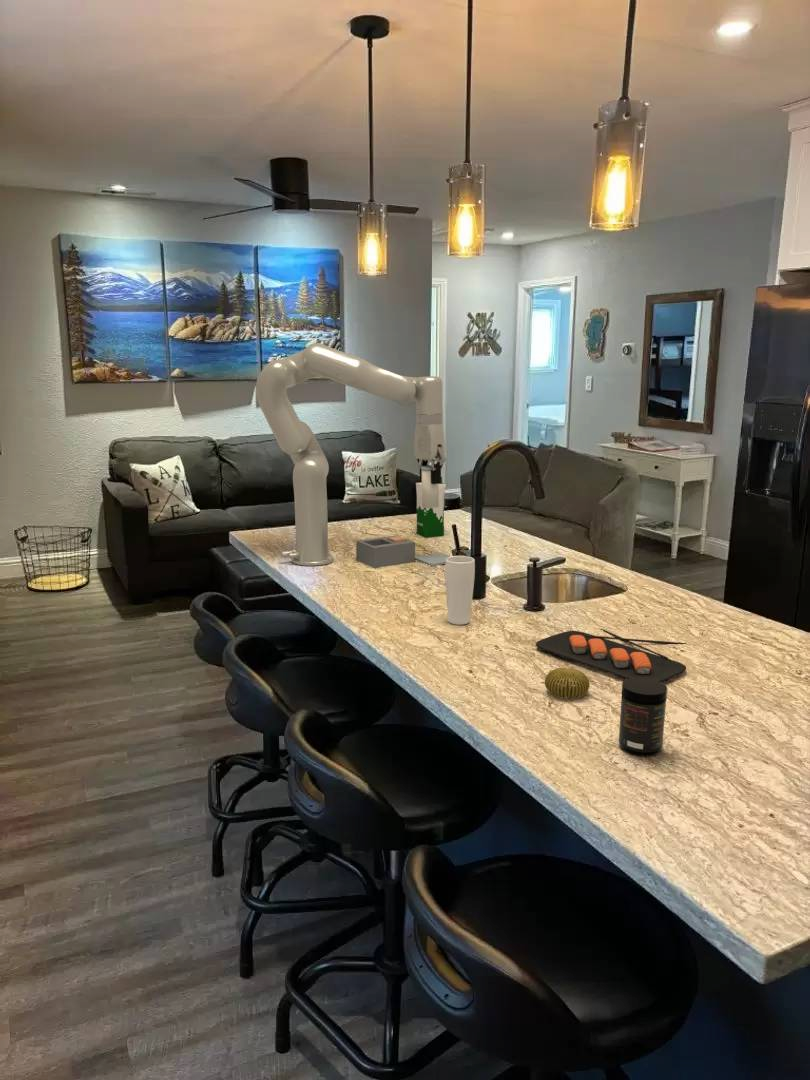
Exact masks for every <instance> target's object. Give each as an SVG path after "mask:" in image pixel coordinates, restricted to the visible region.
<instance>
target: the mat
mask: <svg viewBox="0 0 810 1080" xmlns="http://www.w3.org/2000/svg"><path fill="white" fill-rule="evenodd" d="M448 557H451V556H450V555H447V554H445V553H442V552H439V553H432V554H426V555H425V554H424V555H418V556H415V561H416V560H417V561H416V562H418V561H419V563H421V562H422V563H421V564H423V563H425V564H424V565H426V564H427V566H428V565H430V566H429V567H431V566H434V567H438V566H437V565H440V566H443V565H442V564H445V562H446V558H448Z"/></svg>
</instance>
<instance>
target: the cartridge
mask: <svg viewBox="0 0 810 1080" xmlns="http://www.w3.org/2000/svg"><path fill="white" fill-rule="evenodd" d="M421 470H422V482H421V483H422V507H423V508H437V507H439V484H431V470H432V466H431V464H429V465H424V466H421Z"/></svg>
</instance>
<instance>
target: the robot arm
mask: <svg viewBox="0 0 810 1080" xmlns="http://www.w3.org/2000/svg"><path fill="white" fill-rule="evenodd" d="M317 376H320V377H323V378H325V379H328V380H331V381H334V382H337V383H340V384H341V385H345V386H347V387H349V388H352V389H355V390H359V391H363V392H366V393H369V394H371V395H374V396H377V397H379V398H383V399H385V400H387V401H390V402H393V403H396V404H400V405H406V404H408V403H410V402H415V401H416V402H415V403H416V409H415V410H416V424H415V429H414V439H413V455H414V457H415V458H416V460H417V464H418V468H419V482H420V483H422V470H421V466H424V465H431V466H432V470H431V484H439V483H441V477H442V469H443V465H444V464H445V463H446V460H447V458H446V455H445V453H446V452H445V450H446V449H445V448H446V447H445V446H446V445H445V436H444V433H445V432H444V427H443V421H444V420H443V408H444V407H443V380H442V378H441V377H440V376H435V375H434V376H419V377H414V376H406V375H401V374H397V373H395V372H392V371H389V370H387V369H384V368H381V367H379V366H376V365H374V364H372V363H371V362H369V361H367V360H365V359H363V358H361V357H358V356H355V355H352V354H349V353H347V352H345V351H341V350H338V349H336V348H333V347H331V346H328V345H326V344H323V343H319V342H315V343H314V342H313V343H311V344H309V345H308V346H306V347H305V349H302V350H300V351H298V352H295V353H294V354H291V355H288V356H286V357H284V358H281V359H274V360H272V361H270V362H268V363H267V364H265V366H264V367H263V368H262V370H261V372H260V374H259V375H258V377H257V381H256V384H255V385H256V386H255V395H256V396H255V397H256V399H257V403H258V405H259V407H260V409H261V412H262V413H263V415H264V418H265V419H266V422H267V424H268V426H269V427H270V430H271V432H272V434H273V435H274V438H275V439H276V442H277V444H278V447H280V449H281V451H282V452H284V453H286V454H287V455H289V457H290V458H291V461H292V462H293V464H294V467H293V470H292V483H293V484H292V485H293V495H294V496H293V497H294V516H295V517H294V519H295V520H294V522H295V525H294V526H295V546H292V548H291V549H290V550H282V551H280V557H281V558H282V559H285V558H288V559H290V561H291V563H292V564H294V565H297V566H306V567H307V566H308V567H309V566H310V567H311V566H312V567H315V566H323V565H328V564H330V563H333V561H334V555H333V554H331V553H329V534H328V533H329V530H328V529H329V528H328V527H329V526H328V495H327V494H328V493H327V490H328V489H327V476H328V475H329V471H330V470H329V469H330V467H329V466H330V465H329V462H328V460H327V457H326V454H325V453H324V451H323V450H322V448H321V445H320V443H319V441H318V440H317V438H316V436H315V433H314V432H313V430H312V429H311V427H310V426H309V425H308V424H307V423H306V422H305V421H302V420H301V419H300V417H299V416H298V414H297V412H296V411H295V410H296V409H295V408H294V405H293V404H292V403H291V401H290V399H289V398H288V394H287V389H290V388H293V387H295V386H296V385H298V384H301V383H304V382H306V381H308V380H310V379H313V378H315V377H317Z"/></svg>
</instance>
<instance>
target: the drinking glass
mask: <svg viewBox="0 0 810 1080" xmlns="http://www.w3.org/2000/svg"><path fill="white" fill-rule="evenodd" d="M475 562H476V561H475V558H473V557H472V556H467V555H453V556H451V557H448V558H446V562H445V565H444V580H445V596H446V606H447V607H446V608H447V610H446V611H447V621H448V623H450V624H452V625H458V626H461V625H462V626H463V625H467V624H469V623H470V622H471V617H472V603H473V595H474V585H475V577H476V576H475V574H476V571H475V570H476V569H475V568H476V563H475Z"/></svg>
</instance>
